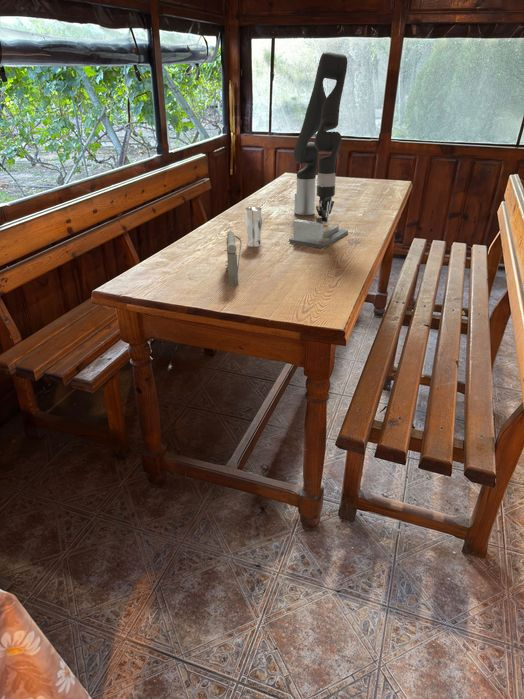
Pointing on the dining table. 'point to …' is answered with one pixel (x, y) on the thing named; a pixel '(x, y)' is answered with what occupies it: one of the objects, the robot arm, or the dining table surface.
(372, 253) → the dining table surface
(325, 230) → the spring plunger
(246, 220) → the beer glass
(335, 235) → the tester base
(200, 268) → the dining table surface
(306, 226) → the brushed metal plate
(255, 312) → the dining table surface
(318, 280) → the dining table surface
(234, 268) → the geiger counter
